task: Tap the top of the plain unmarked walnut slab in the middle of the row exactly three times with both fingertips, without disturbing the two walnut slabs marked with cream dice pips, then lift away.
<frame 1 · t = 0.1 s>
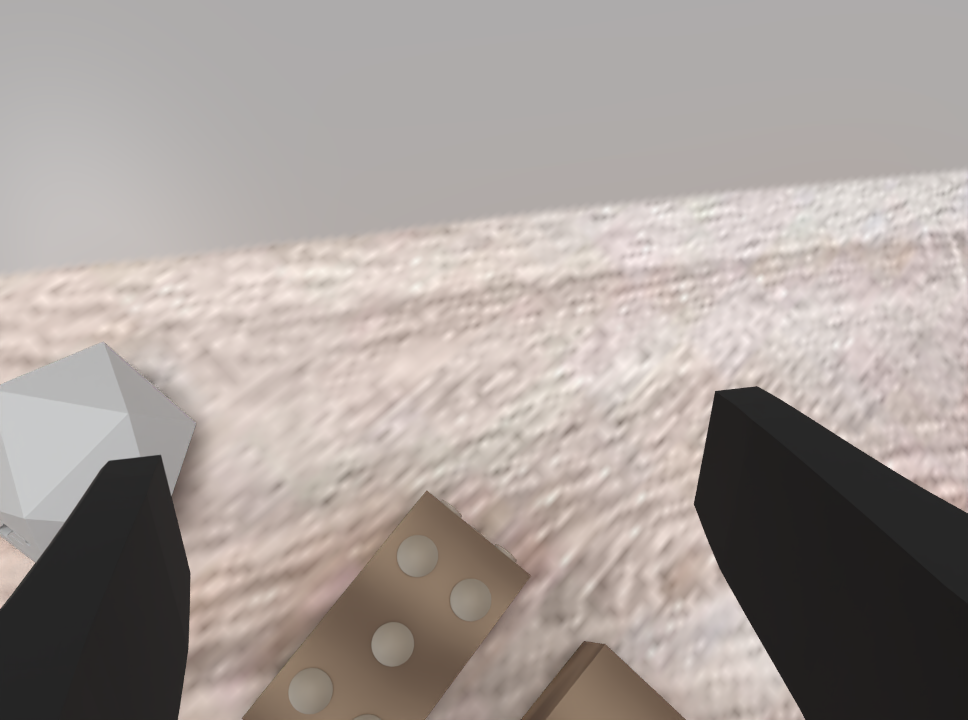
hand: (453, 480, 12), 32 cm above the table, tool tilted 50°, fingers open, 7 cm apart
die: (103, 471, 42), on the table
pip block five: (388, 640, 42), on the table
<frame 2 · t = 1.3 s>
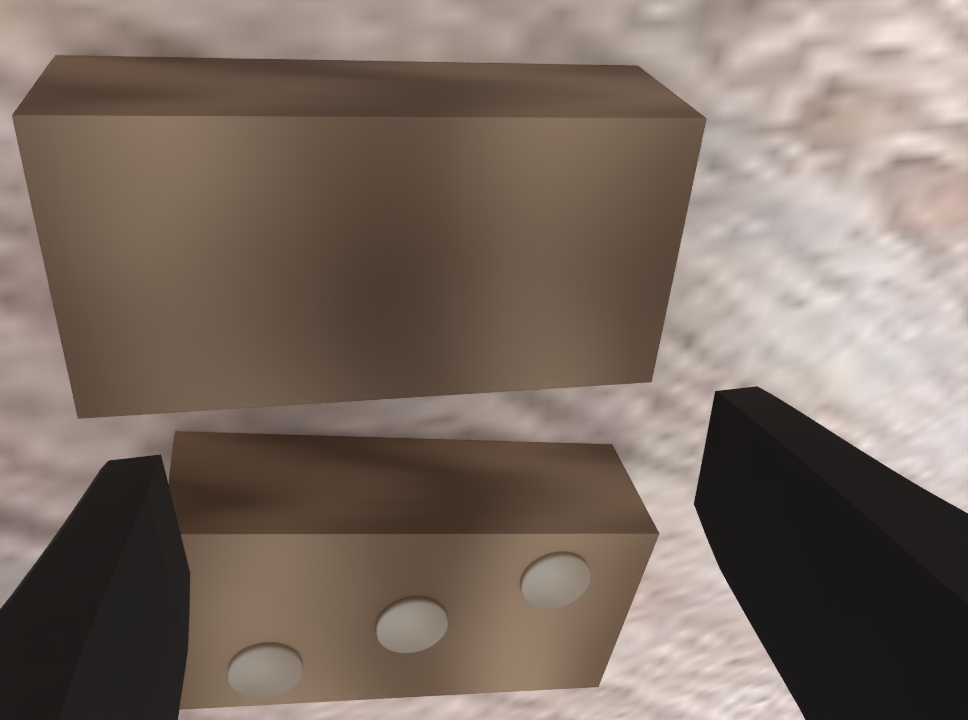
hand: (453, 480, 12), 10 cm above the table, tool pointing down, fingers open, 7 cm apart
plain block: (365, 191, 20), on the table
pip block three: (391, 514, 26), on the table
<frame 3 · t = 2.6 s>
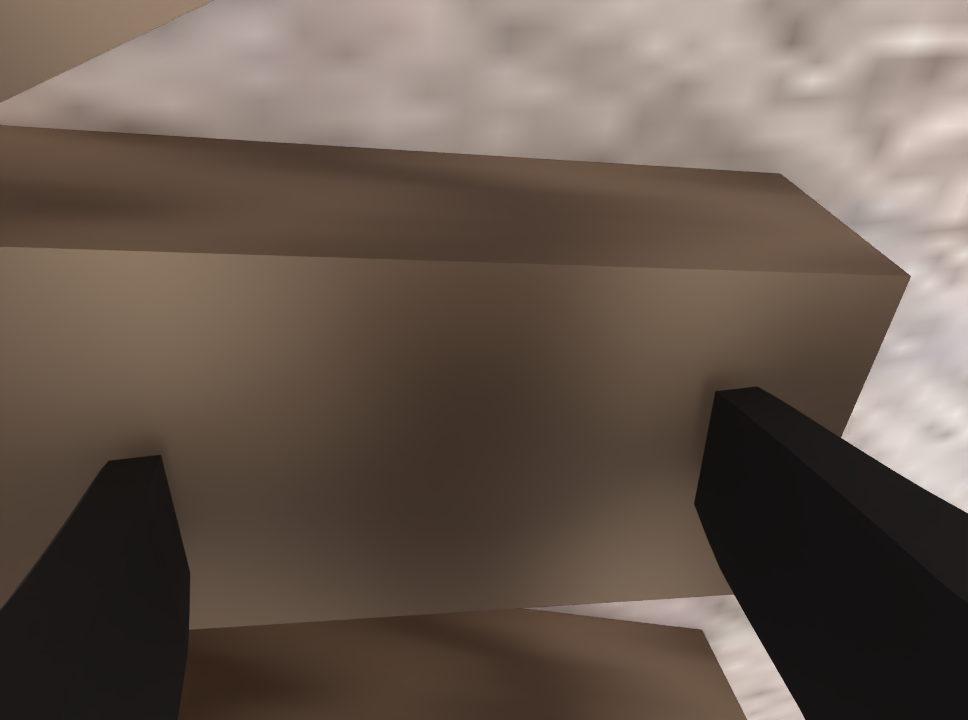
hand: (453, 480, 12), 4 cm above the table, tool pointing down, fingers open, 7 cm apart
plain block: (407, 313, 15), on the table
pip block three: (425, 681, 21), on the table
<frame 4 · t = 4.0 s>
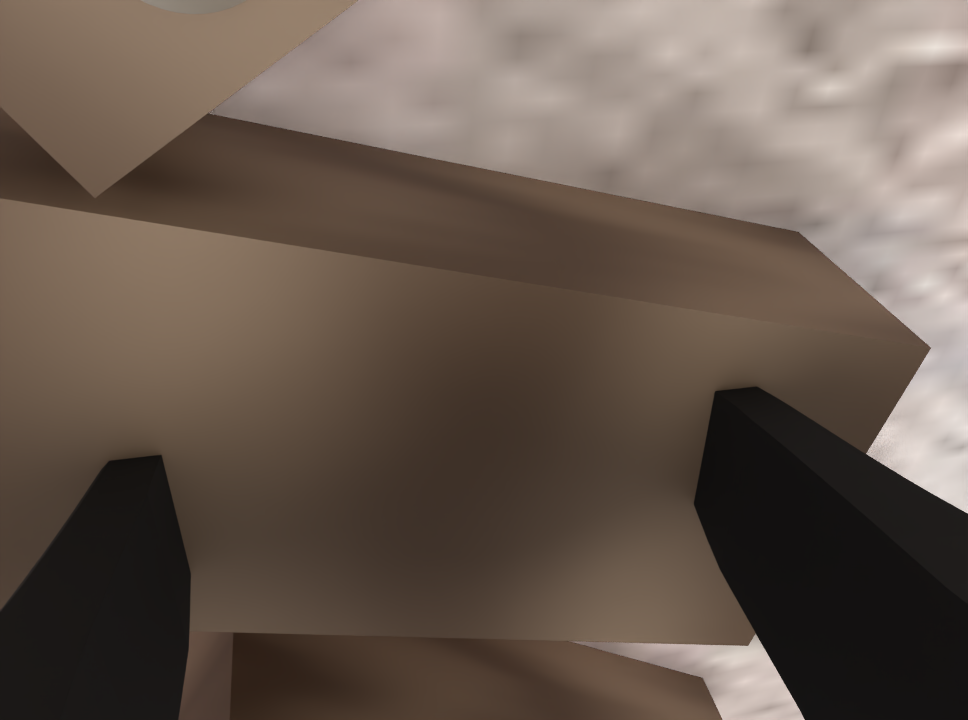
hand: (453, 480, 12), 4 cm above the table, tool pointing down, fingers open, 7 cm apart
plain block: (413, 325, 15), on the table, touching gripper
pip block three: (429, 697, 20), on the table
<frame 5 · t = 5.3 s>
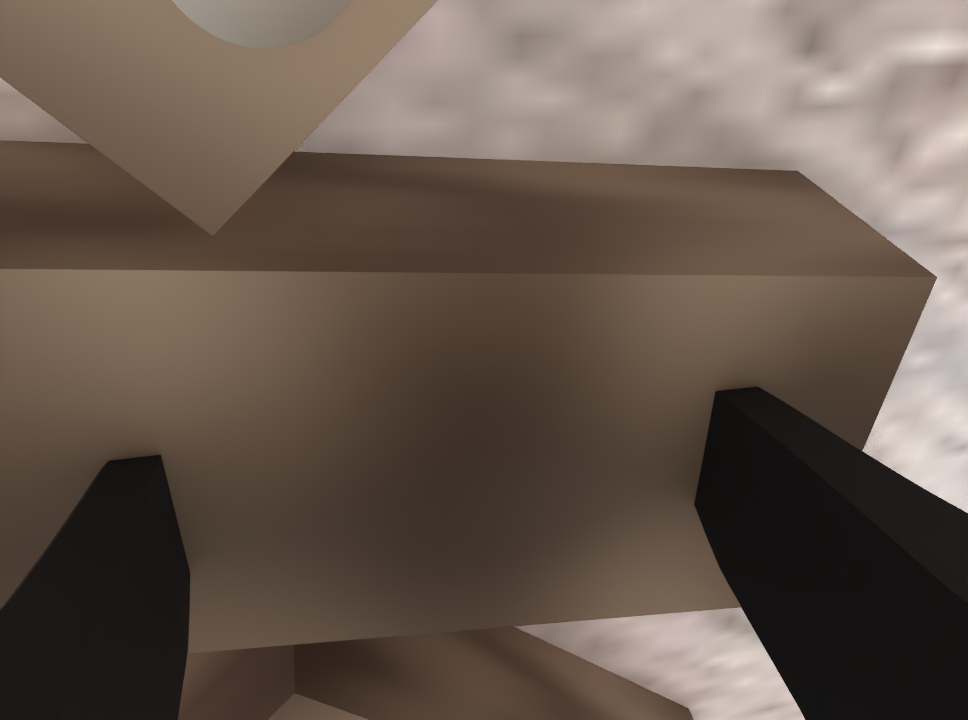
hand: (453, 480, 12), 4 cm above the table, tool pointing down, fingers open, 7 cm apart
plain block: (414, 322, 15), on the table, touching gripper
pip block three: (429, 697, 20), on the table
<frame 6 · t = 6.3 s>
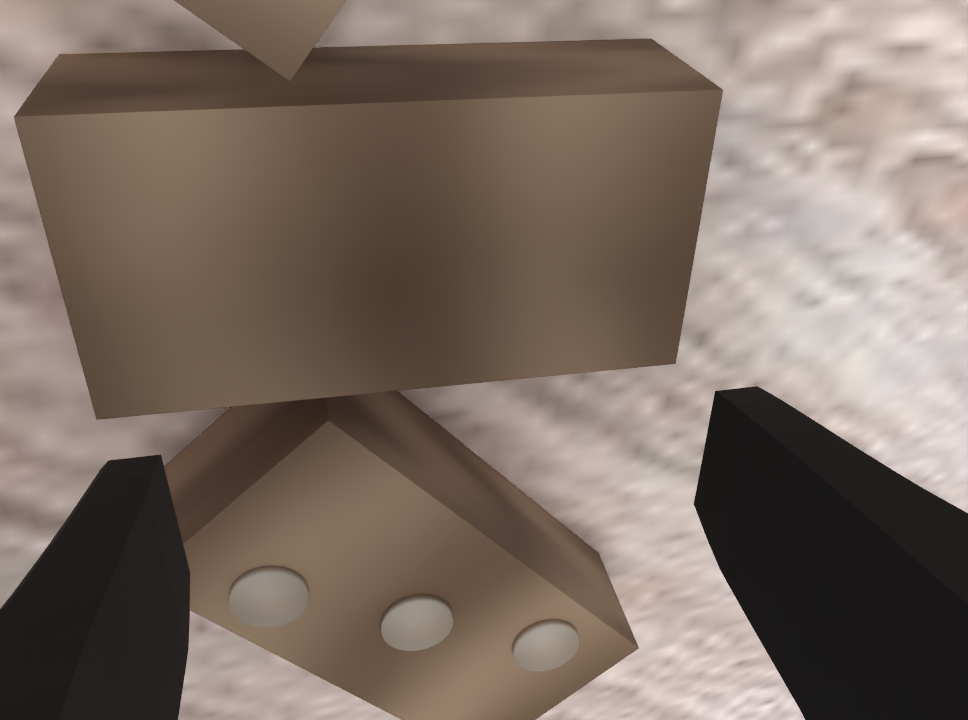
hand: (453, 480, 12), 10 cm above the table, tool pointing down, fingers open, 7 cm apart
plain block: (377, 179, 20), on the table
pip block three: (397, 510, 26), on the table
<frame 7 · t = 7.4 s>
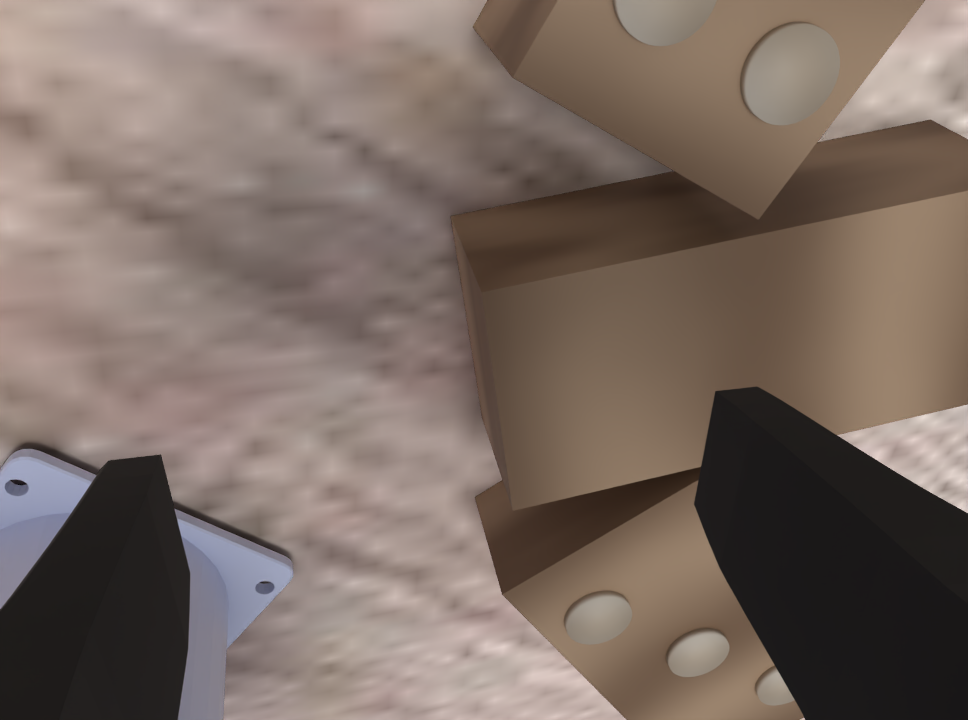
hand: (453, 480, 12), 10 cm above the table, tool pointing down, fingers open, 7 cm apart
plain block: (690, 270, 23), on the table
pip block three: (647, 549, 29), on the table
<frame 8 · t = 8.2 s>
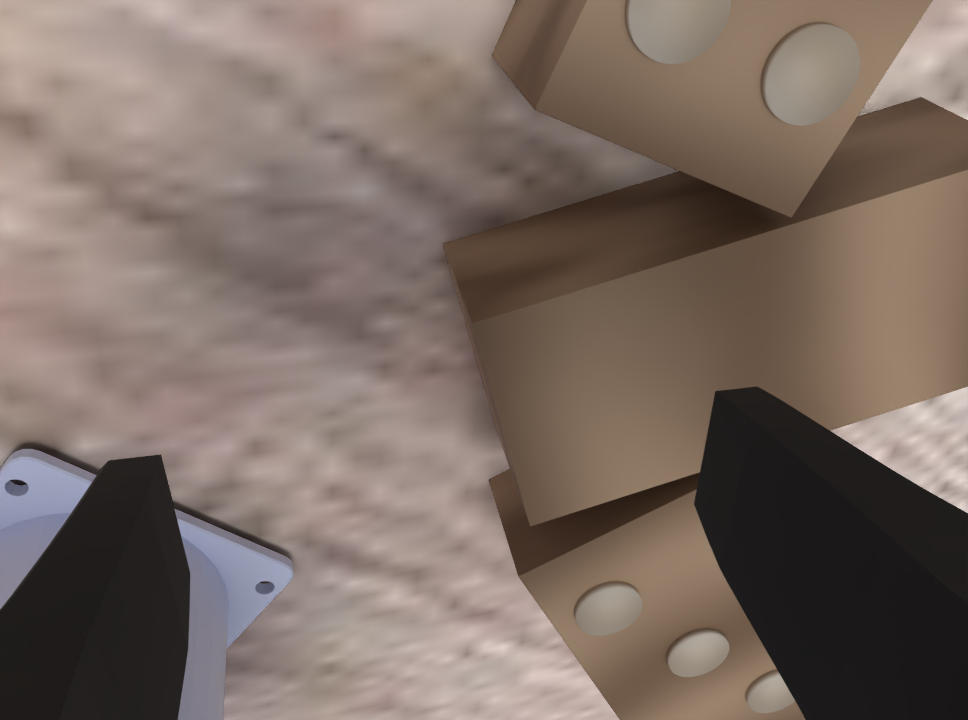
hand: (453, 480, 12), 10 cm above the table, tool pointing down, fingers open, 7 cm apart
plain block: (690, 270, 23), on the table
pip block three: (647, 549, 29), on the table
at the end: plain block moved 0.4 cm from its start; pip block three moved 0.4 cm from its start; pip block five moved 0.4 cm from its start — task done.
